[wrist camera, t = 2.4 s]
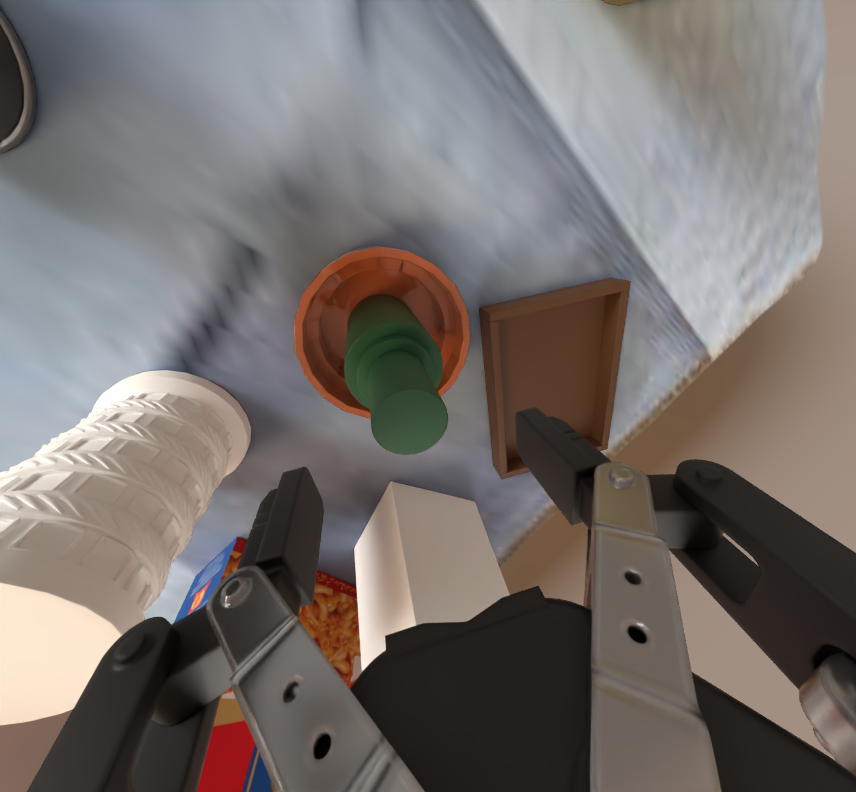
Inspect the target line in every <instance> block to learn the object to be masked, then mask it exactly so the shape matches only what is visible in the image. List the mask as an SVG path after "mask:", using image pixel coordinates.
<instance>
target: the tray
mask: <svg viewBox="0 0 856 792" xmlns="http://www.w3.org/2000/svg"><path fill="white" fill-rule="evenodd" d="M629 289H630V281H627V280H621V279H614V278H607V279H603V280H598V281H594V282H589V283H585V284H581V285H576V286H572V287H568V288H563V289H559V290H554V291H550V292H546V293H541V294H537V295H533V296H528V297H524V298H519V299H515V300H511V301H506V302H502V303H497V304H493V305H489V306H484V307H480V308H479V312H480V323H481V334H482V345H483V356H484V367H485V379H486V390H487V401H488V412H489V423H490V434H491V445H492V457H493V466H494V467H495V469H496V471H497V472H498V474H499V476H500V477H501V479H505V478H509V477H512V476H516V475H519V474H522V473H526V472H529V471H530V470H529V468H528V467H527V466H526V464H525V463H524V462H523V460H522V459H521V457H520V455H519V453H518V450H517V445H516V425H515V414H516V412H518V411H522V410H526V409H529V408H533V407H537V408H538V409H539V410H540V411H541V412H542V413H544V414H545V415H546V416H547V417H550V416H554V417H556V418H558V419H561V420H563V421H565V422H567V423H568V424H569V425H570V426H571V427H572V428H573V429H575V431H577V432H578V433H579V434H580V435H581V436H582V437H583V438H585V439H586V440H587V441H588V442H589V443H591V444H592V445H593V446H594V447H595V448H596V449H598V450H599V451H602V450H606V449H607V448H608V441H609V433H610V426H611V419H612V412H613V405H614V397H615V390H616V383H617V376H618V369H619V361H620V354H621V347H622V340H623V333H624V325H625V318H626V311H627V304H628V297H629Z"/></svg>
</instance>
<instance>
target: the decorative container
mask: <svg viewBox="0 0 856 792" xmlns="http://www.w3.org/2000/svg"><path fill="white" fill-rule="evenodd" d="M50 442H51V443H50V444H46V445H43V446H42V449H41V450H40V451H38V452H37V453H36V455H35V456H34V458H31V459H28V460H25V461H23V462H22V463H20V464H19V465H17V466H16V465H14V466H12V467H11V468H10V471H8V472H7V471H3V472H1V473H0V476H1V477H0V725H6V724H14V723H22V722H28V721H32V720H37V719H40V718H45V717H49V716H53V715H57V714H61V713H64V712H67V711H69V710H72V709H74V707H75V705H76V703H77V702H78V700H79V698H80V696H81V694H82V693H83V691H84V689H85V687H86V685H87V684H88V682H89V680H90V678H91V677H92V675H93V673H94V671H95V669H96V668H97V666H98V664H99V662H100V661H101V659H102V657H103V656H104V655H105V653H106V652H107V651H108V649H109V648H110V647H111V646H112V645H113V644H114V643H115V642H116V641H117V640H118V639H119V638H120V637H121V636H122V635H123V634H124V633H125V632H127V631H128V630H129V629H131V628H132V627H134V626H135V625H137V624H138V623H140V622H142V621H144V620H145V617H144V612H145V611H146V610H147V609H148V607H149V606H151V605H152V603H153V602H154V601H155V600H156V599H157V598H158V596H159V595H160V593H161V592H162V590H163V589H164V587H165V584H166V582H167V578H168V574H169V570H170V567H171V563H172V562H173V561H174V560H175V559H176V558H177V557H178V556H179V555H180V554H181V553H182V551H183V550H184V549H185V547H186V546H187V544H188V543H189V541H190V538H191V536H192V532H193V527H194V524H195V522H196V521H197V520H198V519H199V518H200V517H201V516H202V515H203V514H204V512H205V511H206V509H207V508H208V506H209V504H210V501H211V498H212V492H213V491H214V490H215V489H216V488H217V487H218V486H219V485H220V483H221V482H222V480H223V479H224V477H225V476H227V475H228V474H230V473H231V472H233V471H234V470H235V469H236V468H237V466H238V465H239V464H240V463H241V462H242V460H243V458H244V456H245V454H246V452H247V450H248V447H249V444H250V442H251V427H250V424H249V421H248V417H247V415H246V413H245V412H244V410H243V409H242V407H241V406H240V404H239V403H238V401H237V400H235V399H234V398H233V397H232V396H231V395H230V394H229V393H228V392H226V391H225V390H224V389H223V388H221V387H219V386H217V385H216V384H214V383H212V382H210V381H209V380H207V379H204V378H201V377H198V376H195V375H192V374H189V373H184V372H177V371H169V370H159V371H147V372H142V373H139V374H136V375H133V376H130V377H127V378H125V379H124V380H122V381H120V382H119V383H117V384H116V385H114V386H113V387H111V388H110V389H109V390H107V391H106V392H104V393H103V394H102V395H101V396H100V398H99V399H98V401H97V402H96V404H95V405H94V407H93V411H92V413H90V414H89V415H88V418H84V419H82V420H81V423H80V424H78V425H77V426H76V428H74V429H71V430H69V431H67V432H66V433H61V434H60V435H59V438H52V439H51V441H50Z"/></svg>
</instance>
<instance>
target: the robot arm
mask: <svg viewBox="0 0 856 792" xmlns="http://www.w3.org/2000/svg"><path fill="white" fill-rule="evenodd" d="M36 105H37V97H36V87H35V82H34V77H33V73H32V70H31V67H30V64H29V61H28V58H27V56H26V53H25V51H24V49H23V47H22V45H21V43H20V41H19V39H18V37H17V35H16V33H15V31H14V30H13V28H12V26H11V25H10V23H9V22H8V20H7V18H6V17H5V16H4V14H3V13H2V11H1V10H0V153H2V152H5V151H8V150H10V149H12V148H13V147H15V146H16V145H18V144H19V143H20V142H21V141H22V140H23V139H24V138H25V137H26V136H27V134H28V133H29V131H30V129H31V127H32V125H33V122H34V119H35V114H36ZM515 425H516V445H517V450H518V453H519V455H520V457H521V459H522V460H523V462H524V463H525V464H526V466H527V467H528V468H529V470H530V471H531V472H532V474H533V475H534V476H535V478H536V479H537V480H538V482H539V483H540V484H541V486H542V487H543V488H544V490H545V491H546V492H547V494H548V495H549V496H550V498H551V499H552V500H553V502H554V503H555V504H556V506H557V507H558V508H559V510H560V511H561V512H562V514H563V515H564V516H565V518H566V519H567V520H568V521H569V523H570V524H571V525H574V524H577V523H580V522H584V523H585V525H586V526H587V527H588V533H587V552H586V553H587V554H586V574H585V592H584V605H583V606H582V605H579V604H576V603H573V602H570V601H566V600H561V599H554V598H545V597H544V595H543V594H542V592H541V590H540V588H539V586H536V587H533V588H530V589H527V590H524V591H521V592H518V593H515V594H512V595H509V596H505V597H502V598H501V599H499V600H498V601H496V602H495V603H494V604H492V605H491V606H489V607H488V608H486V609H485V610H483V611H482V612H481V613H479V614H478V615H476V616H475V617H473V618H472V619H470V620H469V621H466V622H441V623H422V624H419V625H416V626H413V627H410V628H407V629H404V630H401V631H398V632H395V633H392V634H389V635H385V644H386V650H385V651H384V652H382V653H381V654H380V655H379V656H377V657H376V658H375V659H374V660H373V661H372V662H371V663H370V664H369V665H368V666H367V667H366V668H365V669H364V670H363V671H362V673H361V674H360V675H359V677H358V678H357V679H356V681H355V682H354V684H353V685H352V687H351V688H350V689H349V687H348V686H347V685H346V683H345V682H344V681H343V679H342V678H341V676H340V675H339V674H338V672H337V671H336V670H335V668H334V667H333V666H332V664H331V663H330V661H329V660H328V659H327V657H326V656H325V655H324V653H323V652H322V650H321V649H320V648H319V646H318V645H317V644H316V642H315V641H314V639H313V638H312V637H311V635H310V634H309V633H308V631H307V630H306V629H305V627H304V626H303V624H302V623H301V622H300V620H299V619H298V617H299V611H300V607H303V606H306V605H310V604H313V600H314V592H315V583H316V575H317V566H318V558H319V549H320V541H321V532H322V524H323V515H324V508H323V502H322V498H321V496H320V494H319V491H318V489H317V487H316V485H315V483H314V481H313V478H312V476H311V474H310V472H309V470H308V468H307V467H302V468H298V469H295V470H291V471H287V472H284V473H283V474H282V477H281V480H280V483H279V486H278V489H274V490H271V491H270V492H269V493H268V495H267V496H266V497H265V498H264V500H263V501H262V502H261V504H260V506H259V509H258V512H257V515H256V518H255V520H254V523H253V526H252V527H253V529H251V531H250V534H249V537H248V540H247V542H246V545H245V548H244V551H243V554H242V556H241V559H240V562H239V565H238V567H237V570H236V571H235V572H233V573H231V574H230V575H229V576H227V577H226V578H225V579H224V580H223V581H222V582H221V583H220V584H219V585H218V586H217V587H216V588H215V589H214V591H213V592H212V594H211V596H210V598H209V600H208V603H207V604H206V605H205V606H203V607H201V608H200V609H198V610H196V611H194V612H193V613H191V614H189V615H187V616H186V617H184V618H182V619H180V620H179V621H177V622H175V623H173V624H172V625H171V624H170V623H169V622H168V621H167V620H166V619H165V618H163V617H153V618H149V619H147V620H144V621H142V622H140V623H138V624H137V625H135V626H134V627H132V628H131V629H129V630H128V631H127V632H125V633H124V634H123V635H122V636H121V637H120V638H119V639H118V640H117V641H116V642H115V643H114V644H113V645H112V646H111V647H110V648H109V649H108V651H107V652H106V653H105V655H104V656H103V657H102V659H101V661H100V662H99V664H98V666H97V668H96V669H95V671H94V673H93V675H92V677H91V678H90V680H89V682H88V684H87V685H86V687H85V689H84V691H83V693H82V694H81V696H80V698H79V700H78V702H77V703H76V705H75V707H74V709H73V710H72V712H71V714H70V716H69V718H68V719H67V721H66V723H65V725H64V726H63V728H62V730H61V732H60V734H59V735H58V737H57V739H56V741H55V743H54V744H53V746H52V748H51V750H50V752H49V754H48V755H47V757H46V759H45V760H44V762H43V764H42V766H41V768H40V770H39V771H38V773H37V775H36V776H35V778H34V780H33V782H32V784H31V785H30V787H29V789H28V791H27V792H197V789H198V785H199V781H200V777H201V773H202V769H203V765H204V761H205V757H206V753H207V749H208V745H209V741H210V737H211V733H212V729H213V725H214V721H215V717H216V713H217V709H218V705H219V701H220V697H221V694H222V693H224V692H225V691H227V690H228V689H229V688H232V690H233V693H234V695H235V697H236V700H237V702H238V704H239V707H240V709H241V711H242V714H243V716H244V718H245V721H246V723H247V725H248V728H249V730H250V732H251V735H252V737H253V739H254V742H255V744H256V746H257V749H258V751H259V753H260V756H261V758H262V760H263V763H264V765H265V767H266V770H267V772H268V774H269V777H270V779H271V781H272V783H273V786H274V788H275V790H276V792H856V553H855V552H853V551H852V550H850V549H849V548H847V547H846V546H844V545H843V544H841V543H840V542H838V541H837V540H835V539H834V538H832V537H831V536H829V535H828V534H826V533H825V532H823V531H822V530H820V529H819V528H817V527H815V526H814V525H813V524H811V523H810V522H808V521H807V520H805V519H804V518H802V517H801V516H799V515H798V514H796V513H795V512H793V511H792V510H790V509H789V508H787V507H786V506H784V505H783V504H781V503H780V502H778V501H777V500H775V499H774V498H772V497H771V496H769V495H768V494H766V493H765V492H763V491H762V490H760V489H759V488H757V487H755V486H754V485H753V484H751V483H749V482H748V481H747V480H745V479H744V478H742V477H741V476H739V475H738V474H736V473H735V472H733V471H731V470H730V469H728V468H726V467H724V466H722V465H720V464H717V463H714V462H710V461H706V460H696V459H695V460H686V461H683V462H682V463H680V464H679V465H678V467H677V470H676V474H671V475H670V474H669V475H645V474H644V473H643V472H642V471H641V470H639V469H638V468H636V467H634V466H632V465H629V464H625V463H621V462H611V461H610V460H609V459H608V458H607V457H606V456H604V455H603V454H602V453H601V452H600V451H599V450H598V449H596V448H595V447H594V446H593V445H592V444H591V443H589V442H588V441H587V440H586V439H585V438H583V437H582V436H581V435H580V434H579V433H578V432H577V431H575V429H573V428H572V427H571V426H570V425H569V424H568V423H567V422H565V421H563V420H561V419H558V418H556V417H554V416H550V417H547V416H546V415H545V414H544V413H542V412H541V411H540V410H539V409H538V408H537V407H533V408H529V409H526V410H522V411H518V412H516V414H515ZM723 533H726V534H727V535H728V536H729V537H730V538H731V539H733V540H734V541H735V542H736V543H737V544H738V545H740V546H741V547H742V548H743V549H744V550H745V551H747V552H748V553H749V554H750V555H751V556H752V557H753V558H754V560H755V561H756V562H757V564H758V566H759V567H758V566H757V565H756V564H755V563H754V562H753V561H751V560H750V559H749V558H748V557H747V556H746V555H745V554H743V553H742V552H741V551H740V550H739V549H737V548H736V547H735V546H734V545H733V544H732V543H731V542H729V541H728V540H727V539H726V538H725V537H724V536H723ZM669 550H670V551H671V552H672V553H673V554H674V555H675V557H676V558H677V559H678V560H679V561H680V562H681V563H682V564H683V565H684V566H685V567H686V568H687V569H688V570H689V572H690V573H691V574H692V575H693V576H694V577H695V578H696V579H697V580H698V581H699V582H700V583H701V585H702V586H703V587H704V588H705V589H706V590H707V591H708V592H709V593H710V594H711V595H712V596H713V598H714V599H715V600H716V601H717V602H718V603H719V604H720V605H721V606H722V607H723V608H724V609H725V611H726V612H727V613H728V614H729V615H730V616H731V617H732V618H733V619H734V620H735V621H736V622H737V623H738V625H740V627H741V628H742V629H743V630H744V631H745V632H746V633H747V634H748V635H749V636H750V637H751V639H753V641H754V642H755V643H756V644H757V645H758V646H759V647H760V648H761V649H762V650H763V651H764V653H765V654H766V655H767V656H768V657H769V658H770V659H771V660H772V661H773V662H774V663H775V664H776V665H777V667H778V668H779V669H780V670H781V671H782V672H783V673H784V674H785V675H786V676H787V677H788V679H789V680H790V681H791V682H792V683H793V684H794V685H795V686H796V687H797V688H798V689H799V699H800V703H801V706H802V709H803V711H804V713H805V715H806V717H807V718H808V720H809V721H810V723H811V725H812V726H813V731H814V734H815V736H816V738H817V739H818V741H819V742H820V744H821V745H822V746H823V747H824V748H825V749H826V750H827V751H828V752H829V753H830V754H831V755H833V757H834V759H835V761H834V760H833V759H832V758H830V757H829V756H827V755H825V754H824V753H822V752H821V751H819V750H817V749H816V748H814V747H813V746H811V745H809V744H808V743H806V742H805V741H803V740H801V739H800V738H798V737H796V736H795V735H793V734H792V733H790V732H788V731H787V730H785V729H783V728H782V727H780V726H779V725H777V724H775V723H774V722H772V721H771V720H769V719H767V718H766V717H764V716H762V715H761V714H759V713H758V712H756V711H754V710H753V709H751V708H750V707H748V706H746V705H745V704H743V703H741V702H740V701H738V700H737V699H735V698H733V697H732V696H730V695H728V694H727V693H725V692H723V691H722V690H720V689H719V688H717V687H716V686H714V685H712V684H711V683H709V682H707V681H706V680H704V679H702V678H701V677H699V676H698V675H696V674H694V673H693V672H692V671H691V666H690V661H689V655H688V650H687V645H686V639H685V634H684V629H683V623H682V618H681V612H680V607H679V602H678V596H677V591H676V585H675V580H674V575H673V569H672V564H671V559H670V553H669Z"/></svg>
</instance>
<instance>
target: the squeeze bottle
mask: <svg viewBox="0 0 856 792" xmlns="http://www.w3.org/2000/svg"><path fill="white" fill-rule="evenodd" d="M603 1H604V2H605V3H609V4H614V5H623V4H627V3H631V2H635V1H639V0H603Z"/></svg>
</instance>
